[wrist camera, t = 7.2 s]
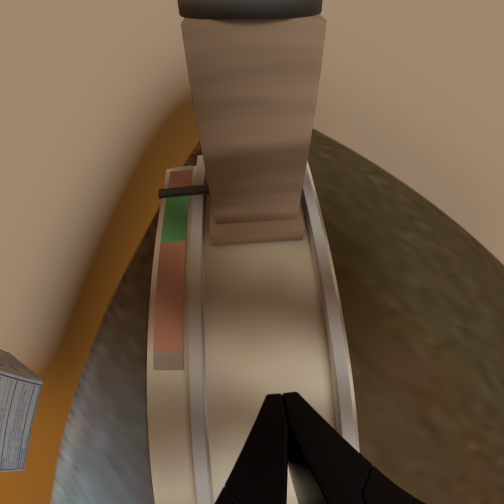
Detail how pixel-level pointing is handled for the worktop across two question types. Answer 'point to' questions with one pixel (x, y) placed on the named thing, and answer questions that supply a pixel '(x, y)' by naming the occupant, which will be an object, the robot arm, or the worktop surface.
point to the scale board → (236, 340)
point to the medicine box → (16, 410)
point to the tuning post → (253, 111)
